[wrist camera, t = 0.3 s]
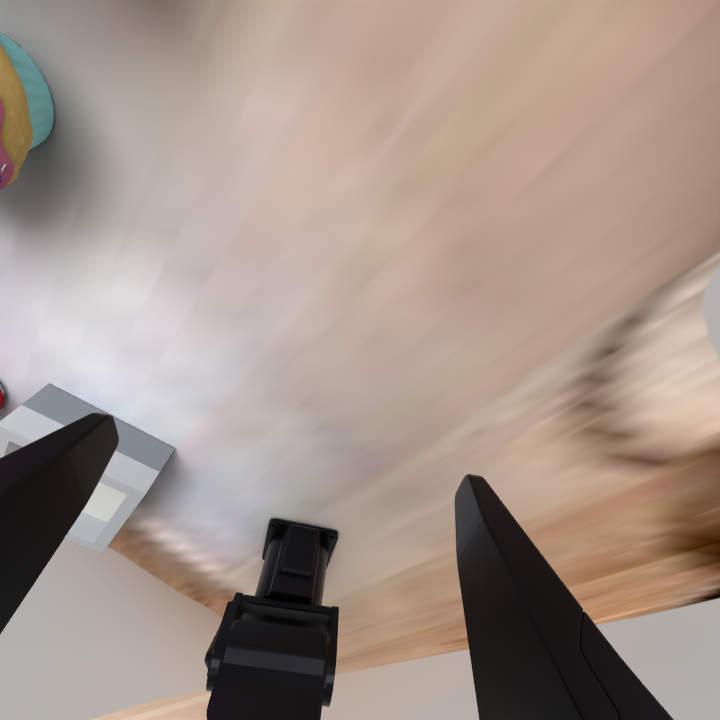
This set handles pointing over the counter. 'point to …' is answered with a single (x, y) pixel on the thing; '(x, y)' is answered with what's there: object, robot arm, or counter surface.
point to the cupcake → (21, 108)
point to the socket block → (121, 477)
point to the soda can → (1, 396)
